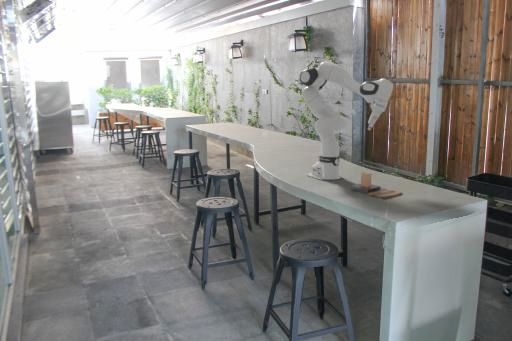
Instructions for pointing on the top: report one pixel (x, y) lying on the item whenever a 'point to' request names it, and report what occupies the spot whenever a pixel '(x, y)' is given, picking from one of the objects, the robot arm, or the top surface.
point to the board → (385, 193)
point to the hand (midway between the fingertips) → (370, 128)
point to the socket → (364, 189)
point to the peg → (366, 179)
